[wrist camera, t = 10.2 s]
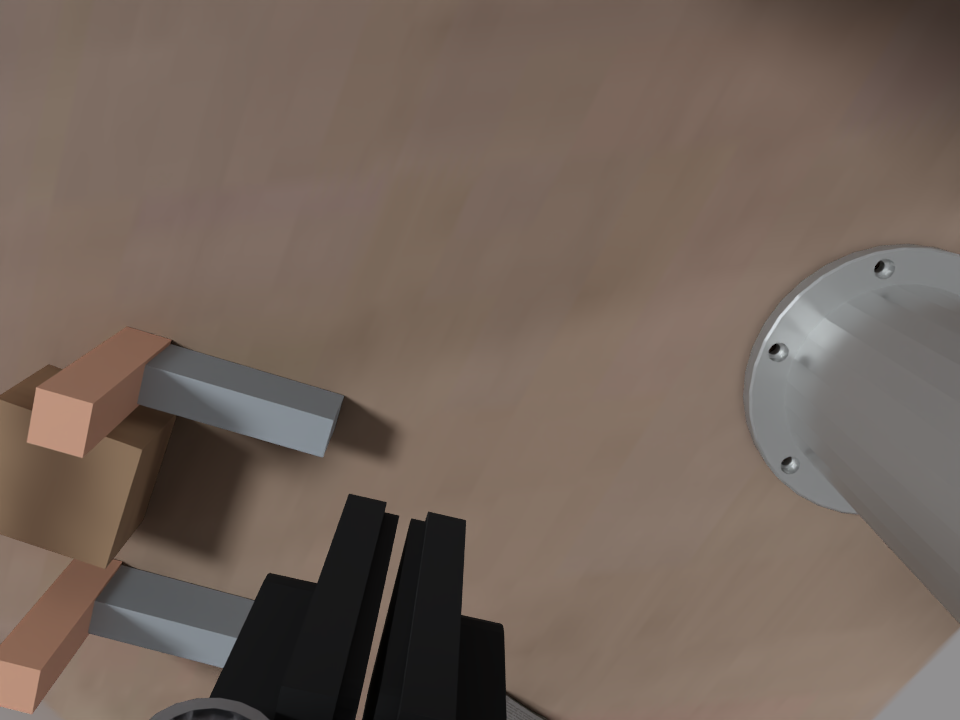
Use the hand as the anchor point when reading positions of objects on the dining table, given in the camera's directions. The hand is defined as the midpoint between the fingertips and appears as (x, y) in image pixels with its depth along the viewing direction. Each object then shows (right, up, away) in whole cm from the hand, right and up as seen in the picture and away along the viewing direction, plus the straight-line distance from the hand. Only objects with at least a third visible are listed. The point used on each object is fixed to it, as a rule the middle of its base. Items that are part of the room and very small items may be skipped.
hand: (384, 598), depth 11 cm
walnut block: (-16, -1, +27) cm, 32 cm away
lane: (-11, -3, +28) cm, 30 cm away
